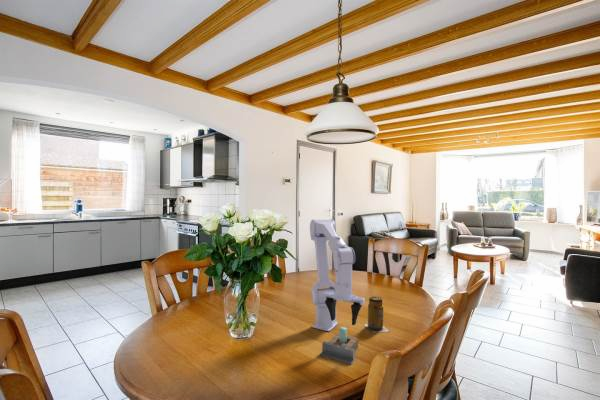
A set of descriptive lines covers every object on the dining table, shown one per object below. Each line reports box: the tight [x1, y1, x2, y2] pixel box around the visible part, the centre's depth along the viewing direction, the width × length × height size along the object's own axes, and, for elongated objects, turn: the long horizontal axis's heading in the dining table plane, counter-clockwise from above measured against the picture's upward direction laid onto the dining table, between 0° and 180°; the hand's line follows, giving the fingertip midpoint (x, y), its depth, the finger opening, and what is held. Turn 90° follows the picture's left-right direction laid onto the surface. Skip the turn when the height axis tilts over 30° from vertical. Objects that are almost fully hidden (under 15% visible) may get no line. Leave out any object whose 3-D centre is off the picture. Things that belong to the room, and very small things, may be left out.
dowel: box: [338, 326, 348, 344], centre depth 106 cm, size 3×3×7 cm
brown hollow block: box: [328, 333, 359, 353], centre depth 106 cm, size 8×8×4 cm
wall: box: [319, 341, 356, 365], centre depth 101 cm, size 3×11×4 cm, turn 61°
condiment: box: [363, 296, 390, 334], centre depth 125 cm, size 7×8×12 cm
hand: (343, 321), depth 106 cm, fingers open, 7 cm apart
